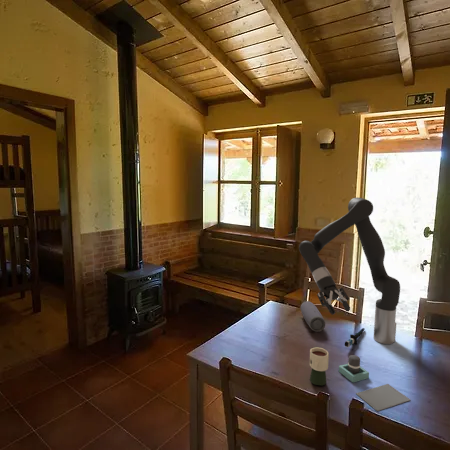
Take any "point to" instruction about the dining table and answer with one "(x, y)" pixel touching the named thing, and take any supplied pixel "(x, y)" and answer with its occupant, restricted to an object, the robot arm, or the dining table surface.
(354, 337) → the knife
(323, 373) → the character mug
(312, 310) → the bluetooth speaker
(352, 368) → the dark grey cylinder
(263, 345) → the dining table surface
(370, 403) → the grey mat
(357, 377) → the green square frame
